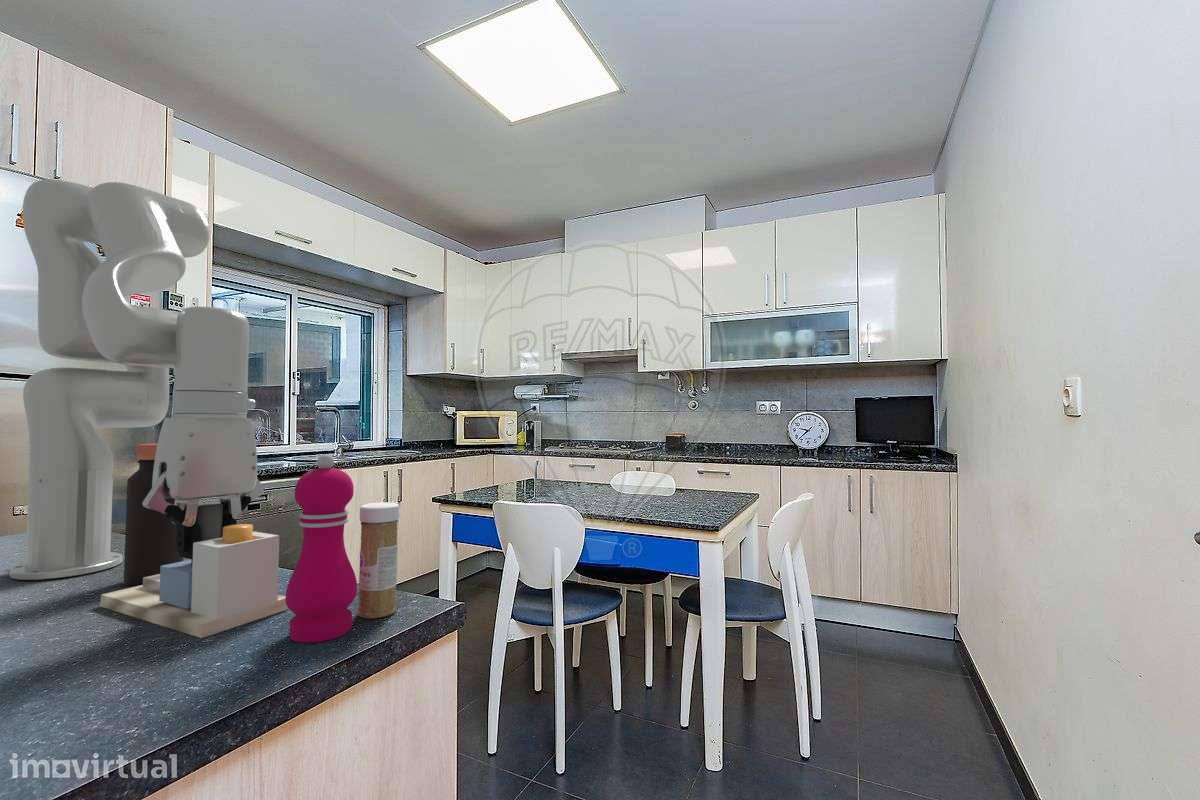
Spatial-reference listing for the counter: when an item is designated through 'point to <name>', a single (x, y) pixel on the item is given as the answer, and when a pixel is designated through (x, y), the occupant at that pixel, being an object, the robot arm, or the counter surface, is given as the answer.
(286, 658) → the counter surface
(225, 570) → the white box holder
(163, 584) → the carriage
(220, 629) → the rail base
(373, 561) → the sprinkles bottle
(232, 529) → the plunger
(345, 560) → the pepper mill
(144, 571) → the vinegar
